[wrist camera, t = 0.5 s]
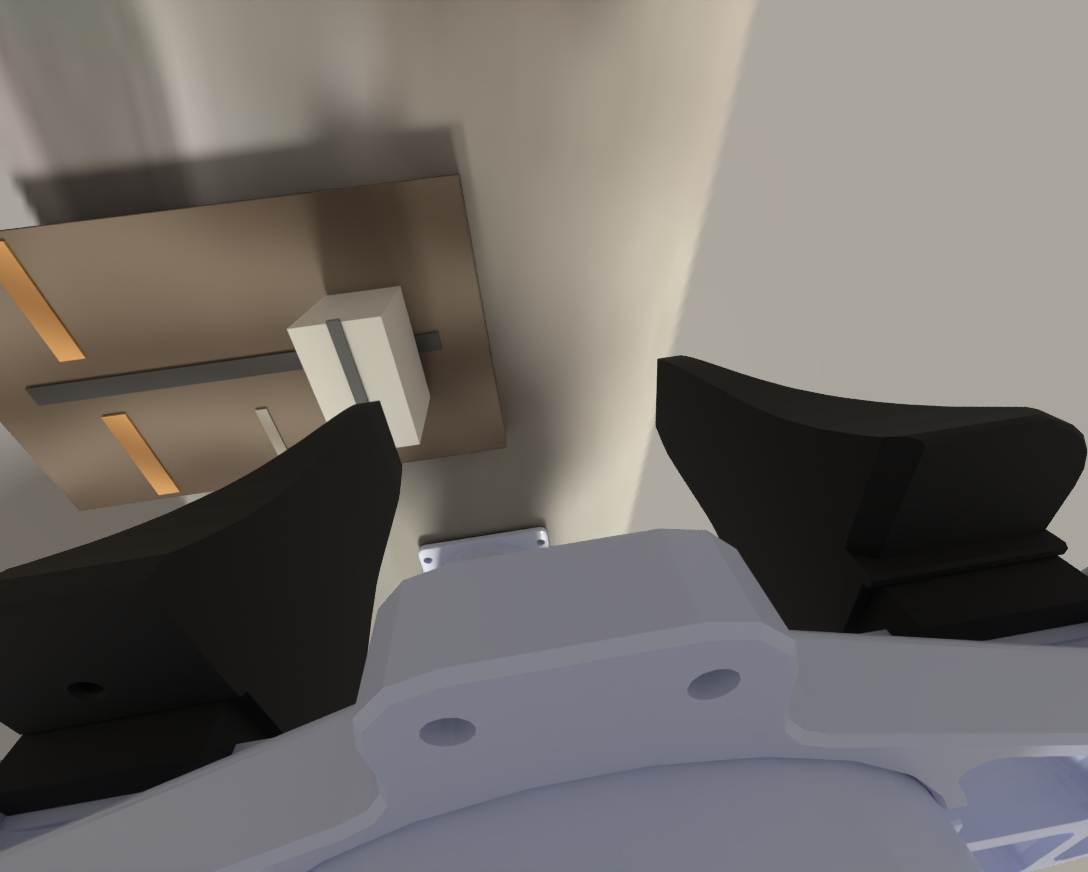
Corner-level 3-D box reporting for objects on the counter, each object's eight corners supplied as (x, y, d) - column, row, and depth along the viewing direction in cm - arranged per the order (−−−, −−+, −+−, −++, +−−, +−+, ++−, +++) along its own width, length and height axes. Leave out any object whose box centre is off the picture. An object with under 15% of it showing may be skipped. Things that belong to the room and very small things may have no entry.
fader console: (505, 432, 24) (506, 448, 23) (101, 491, 23) (77, 512, 22) (459, 173, 17) (457, 175, 16) (-104, 242, 17) (-156, 250, 15)
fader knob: (430, 398, 21) (419, 448, 17) (365, 407, 20) (341, 460, 17) (399, 283, 18) (378, 314, 14) (323, 293, 18) (283, 327, 14)
